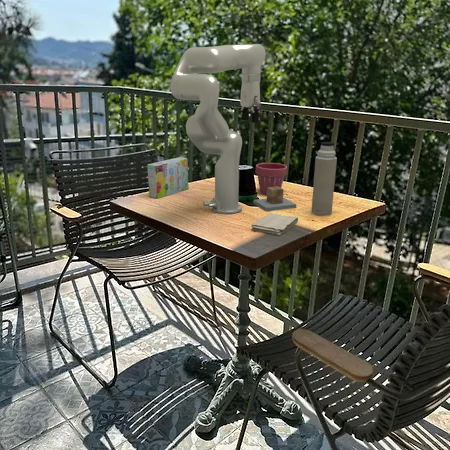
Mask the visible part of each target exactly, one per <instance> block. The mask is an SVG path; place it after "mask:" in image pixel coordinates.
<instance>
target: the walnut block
mask: <svg viewBox="0 0 450 450" xmlns="http://www.w3.org/2000/svg"><path fill="white" fill-rule="evenodd" d="M283 198H284V188H282V187H281V188H280V187H278V186H276V187H267V195H266V199H267V202H269V203H271V204H279V203H283Z"/></svg>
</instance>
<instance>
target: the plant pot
mask: <svg viewBox="0 0 450 450" xmlns="http://www.w3.org/2000/svg"><path fill="white" fill-rule="evenodd" d="M287 173H288V167H287V165H286V164H284V163H283V164H282V163H279V162H278V163H276V162H275V163H274V162H260V163H257V164H256V165H255V174H256V175H257V179H258V180H257V181H258V186H259V191H260V194H261V195H265V196H267V187H276V186H278V187H280V188H282V186H283V183H284V179H285V176H287Z"/></svg>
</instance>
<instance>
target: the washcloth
mask: <svg viewBox="0 0 450 450" xmlns="http://www.w3.org/2000/svg"><path fill="white" fill-rule="evenodd" d="M298 222H299V217H296V216H291V215H282V214H278V213H272V212H270V213H268V214H267V215H265V216H263V217H261V218H259V219H258V220H257V221H255V222H253V223H252V224H251V226H250V227H251V229H250V230H251V231H255V232H258V233H263V234H269V235H273V236H280V235H283V234H284V233H287V231H289V230H290V229H292V228H293V227H294V226H295V225H296V224H297V223H298Z"/></svg>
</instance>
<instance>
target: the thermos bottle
mask: <svg viewBox="0 0 450 450" xmlns="http://www.w3.org/2000/svg"><path fill="white" fill-rule="evenodd" d="M334 146H335V142H331V141H324V142H323V141H321V143H320V149H319V150H318V151H317V156H315V159H314V160H315V162H314V173H313V174H314V175H313V188H312V199H311V211H310V212H311V214H313V215H315V216H321V217H322V216H323V217H325V216H331V215H332V213H333V202H334V194H335V191H334V190H335V184H336V183H335V182H336V174H337V172H336V171H337V163H338V162H337V160H338V158H337V157H336V154H337V153H336V151H335V150H334V148H335V147H334Z"/></svg>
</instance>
